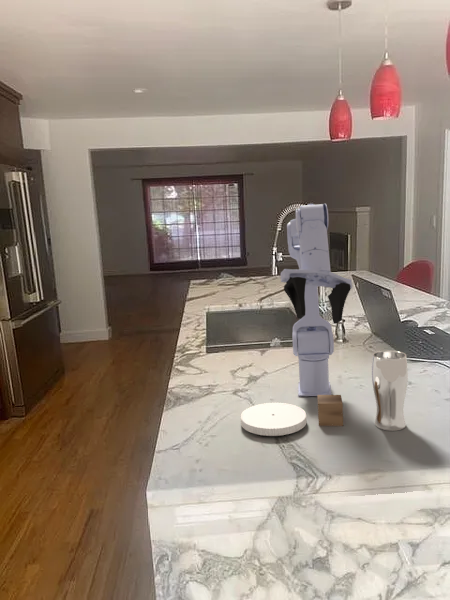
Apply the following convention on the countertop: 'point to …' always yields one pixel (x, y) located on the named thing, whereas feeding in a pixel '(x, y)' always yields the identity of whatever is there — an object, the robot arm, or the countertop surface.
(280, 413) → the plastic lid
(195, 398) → the countertop surface
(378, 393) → the beer glass
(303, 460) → the countertop surface
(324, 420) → the walnut cube
